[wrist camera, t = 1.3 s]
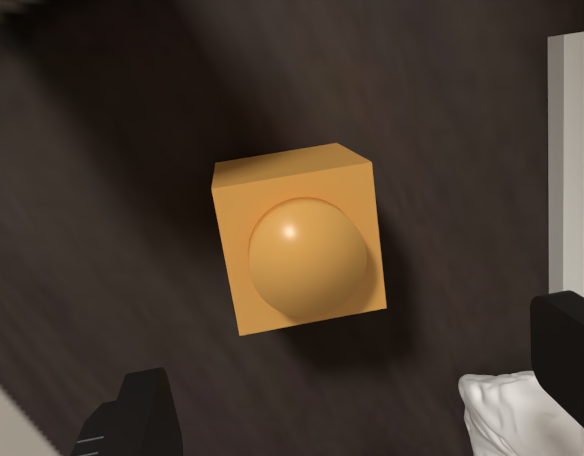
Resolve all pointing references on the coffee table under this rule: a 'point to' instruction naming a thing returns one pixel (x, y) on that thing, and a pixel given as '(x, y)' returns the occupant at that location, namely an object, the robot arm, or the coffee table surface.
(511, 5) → the coffee table surface
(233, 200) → the domed orange cube
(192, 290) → the coffee table surface
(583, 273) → the plate
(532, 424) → the bust
